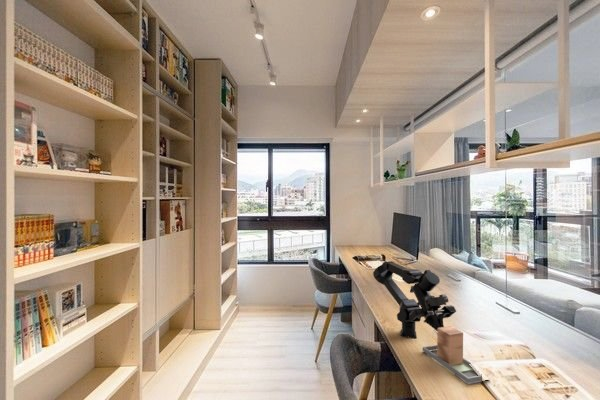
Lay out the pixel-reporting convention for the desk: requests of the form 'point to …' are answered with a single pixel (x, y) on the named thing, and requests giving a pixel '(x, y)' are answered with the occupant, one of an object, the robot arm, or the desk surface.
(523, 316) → the desk surface
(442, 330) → the terracotta block
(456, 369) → the trap box
